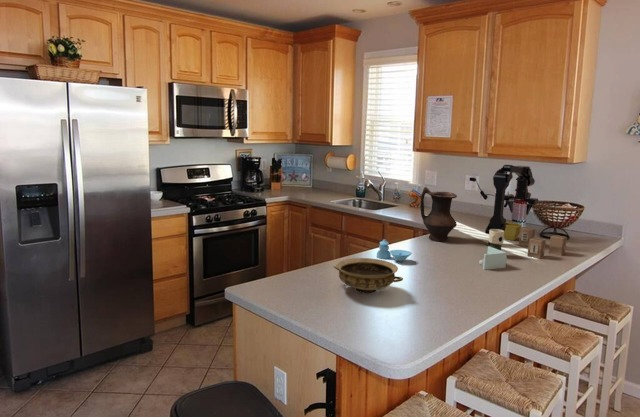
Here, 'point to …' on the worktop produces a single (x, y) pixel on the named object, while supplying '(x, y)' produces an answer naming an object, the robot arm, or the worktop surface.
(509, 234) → the flower pot
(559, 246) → the plain block
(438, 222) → the jug
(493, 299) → the worktop surface
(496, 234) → the character mug
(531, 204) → the robot arm
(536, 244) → the numbered block
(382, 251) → the blue jar and dish
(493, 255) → the l-shaped corner panel
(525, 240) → the numbered block
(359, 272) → the ceramic bowl
